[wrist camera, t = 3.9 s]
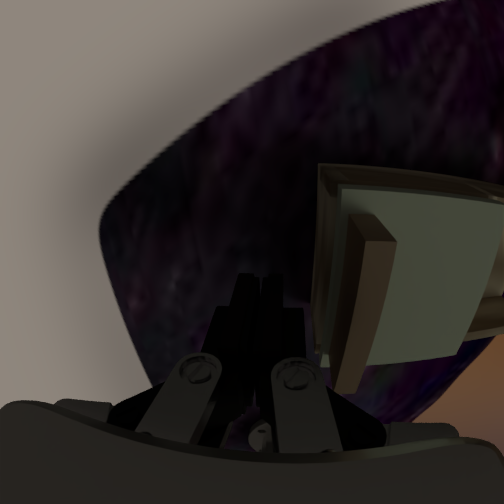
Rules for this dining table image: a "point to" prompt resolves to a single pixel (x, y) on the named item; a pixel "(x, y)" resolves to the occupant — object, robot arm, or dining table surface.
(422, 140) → the dining table surface
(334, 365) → the cover
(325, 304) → the beige box
